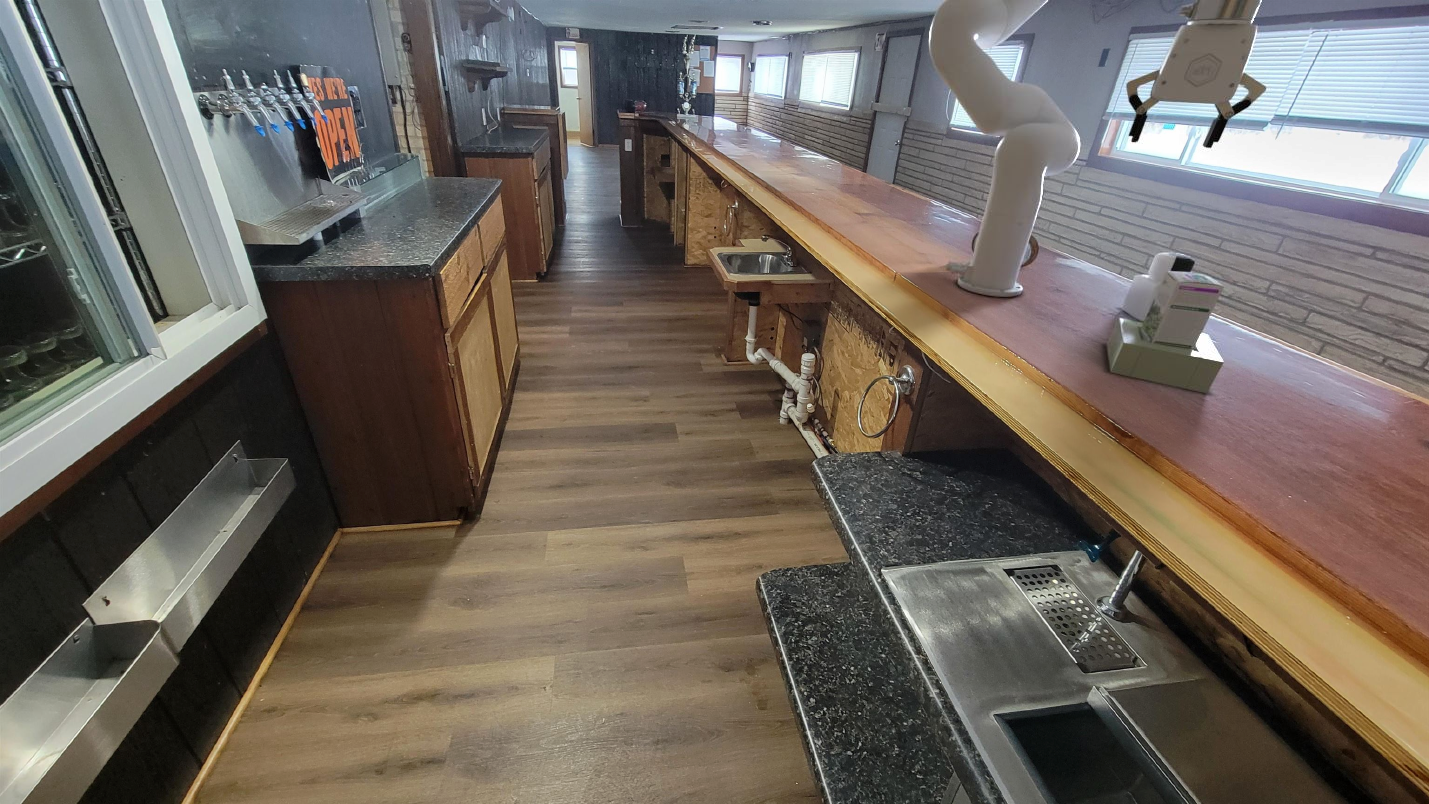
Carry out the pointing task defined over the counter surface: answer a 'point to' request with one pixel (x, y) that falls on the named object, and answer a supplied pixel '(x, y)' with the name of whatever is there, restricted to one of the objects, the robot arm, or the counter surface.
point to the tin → (1029, 253)
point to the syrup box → (1180, 309)
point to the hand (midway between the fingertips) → (1169, 144)
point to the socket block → (1162, 359)
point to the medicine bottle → (1153, 282)
